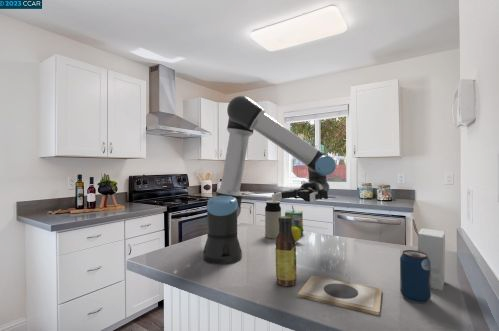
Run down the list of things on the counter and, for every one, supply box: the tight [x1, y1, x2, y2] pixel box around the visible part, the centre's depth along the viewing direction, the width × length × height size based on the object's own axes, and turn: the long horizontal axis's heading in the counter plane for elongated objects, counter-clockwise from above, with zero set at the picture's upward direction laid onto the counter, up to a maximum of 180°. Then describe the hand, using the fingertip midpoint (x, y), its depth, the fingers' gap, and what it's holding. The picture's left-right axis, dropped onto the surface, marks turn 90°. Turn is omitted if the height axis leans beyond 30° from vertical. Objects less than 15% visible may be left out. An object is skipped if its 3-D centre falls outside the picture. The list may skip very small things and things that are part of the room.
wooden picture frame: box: [297, 275, 383, 316], centre depth 75 cm, size 20×14×1 cm
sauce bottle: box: [275, 215, 297, 287], centre depth 83 cm, size 7×6×20 cm
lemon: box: [291, 223, 304, 243], centre depth 126 cm, size 7×6×10 cm
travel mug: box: [264, 199, 282, 240], centre depth 137 cm, size 8×8×18 cm
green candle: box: [284, 204, 304, 236], centre depth 144 cm, size 9×9×15 cm
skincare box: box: [417, 227, 446, 291], centre depth 82 cm, size 8×7×16 cm
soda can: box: [399, 249, 432, 304], centre depth 73 cm, size 7×7×12 cm
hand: (291, 198), depth 91 cm, fingers open, 13 cm apart
